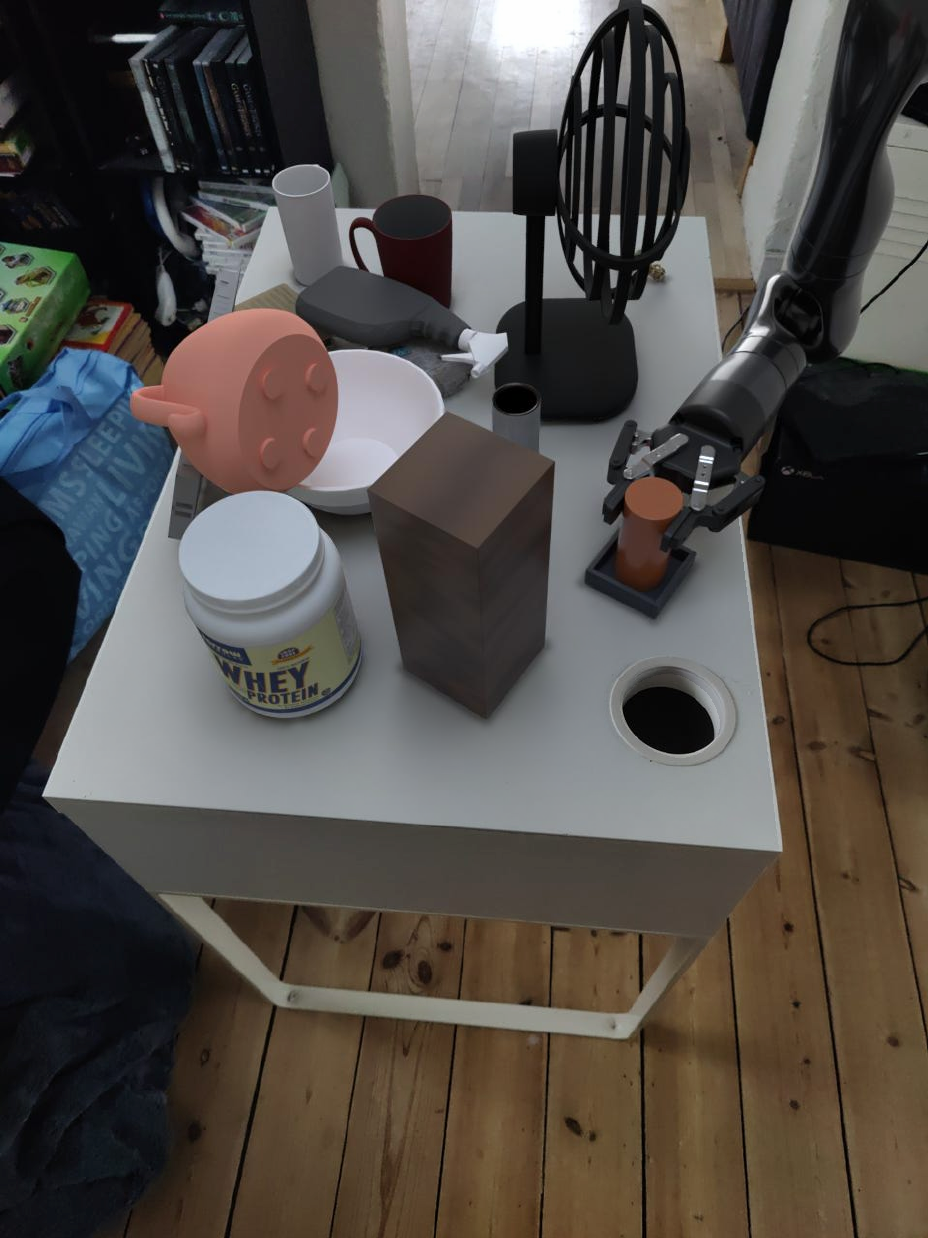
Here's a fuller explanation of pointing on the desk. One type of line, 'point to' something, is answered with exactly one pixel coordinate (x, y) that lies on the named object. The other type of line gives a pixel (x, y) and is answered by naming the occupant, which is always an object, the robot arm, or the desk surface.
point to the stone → (432, 362)
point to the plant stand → (466, 558)
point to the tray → (643, 601)
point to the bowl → (369, 427)
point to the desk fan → (594, 326)
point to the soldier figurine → (654, 270)
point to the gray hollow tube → (517, 414)
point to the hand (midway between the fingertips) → (636, 530)
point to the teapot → (247, 400)
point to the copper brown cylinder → (645, 532)
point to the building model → (187, 474)
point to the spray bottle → (392, 316)
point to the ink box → (280, 306)
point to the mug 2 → (412, 243)
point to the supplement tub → (271, 603)
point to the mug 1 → (308, 221)
